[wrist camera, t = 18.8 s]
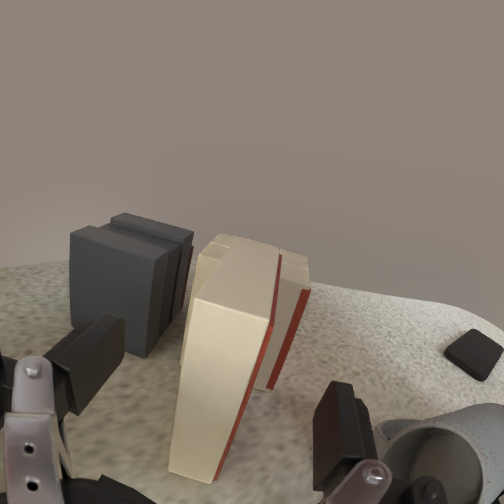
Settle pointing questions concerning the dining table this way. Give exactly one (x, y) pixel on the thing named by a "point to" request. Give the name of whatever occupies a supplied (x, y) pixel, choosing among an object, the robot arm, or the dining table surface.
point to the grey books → (130, 276)
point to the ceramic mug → (449, 451)
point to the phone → (475, 353)
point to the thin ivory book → (223, 356)
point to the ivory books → (287, 310)
